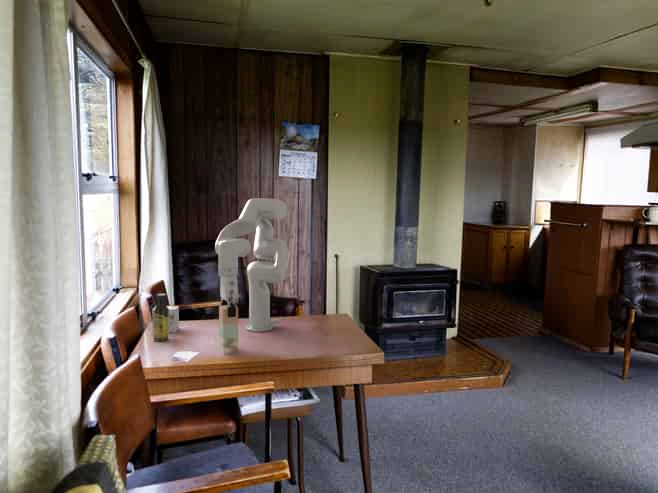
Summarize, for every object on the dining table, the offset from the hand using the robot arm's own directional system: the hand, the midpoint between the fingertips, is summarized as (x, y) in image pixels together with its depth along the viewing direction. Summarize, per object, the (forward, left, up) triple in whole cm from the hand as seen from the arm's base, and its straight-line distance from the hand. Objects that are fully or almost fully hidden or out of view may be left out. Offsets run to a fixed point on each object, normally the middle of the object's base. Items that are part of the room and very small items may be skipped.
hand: (228, 314), depth 197 cm
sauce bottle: (+22, -26, -15) cm, 37 cm away
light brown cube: (0, 0, -3) cm, 3 cm away
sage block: (0, 0, -9) cm, 9 cm away
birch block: (0, 0, -15) cm, 15 cm away
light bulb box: (+18, -40, -15) cm, 46 cm away
